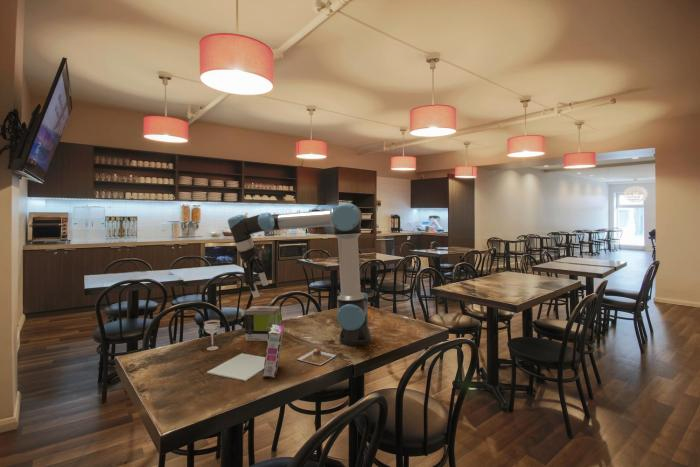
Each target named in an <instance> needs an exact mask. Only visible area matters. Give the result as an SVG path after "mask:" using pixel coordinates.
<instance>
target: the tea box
mask: <svg viewBox="0 0 700 467" xmlns="http://www.w3.org/2000/svg"><path fill="white" fill-rule="evenodd" d="M281 310H282V309H281V306H279V305H276V306H275V305H274V306H271V305H270V306H267V305H266V306H265V305H263V306H261V305H260V306H259V305H258V306H257V305H254V306H253V305H252V306H250V307H249V308H247V309H246V310H244V338H245V342H246V341H247V342H248V341H249V342H252V341H253V342H267V341H268V333H269V331H270V328H271V326H272V325H282V318H281V317H282V316H281V314H282V312H281Z"/></svg>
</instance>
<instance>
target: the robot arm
mask: <svg viewBox="0 0 700 467" xmlns="http://www.w3.org/2000/svg"><path fill="white" fill-rule="evenodd" d="M362 220H363V214H362V211H361V209H360V207H358V206H357V205H355V204H353V203H351V202H342V203H339V204H338V205H336V206H335V207H331V209H328V210H316V211H314V210H313V211H304V212H302V211H301V212H289V213H276V214H271V212H264V213H260V214H256V215H253V216H249V217H245V215H244V214H238V215H234V216H232V217H230V218H228V219H227V224H228V227H229V230H230V233H231V235H232V237H233V238H232V239H233V241H234V243H235V244H234V246H235V247H236V249H237V251H238V255H239V257H240V259H241V260H244V262H243V263H242V268H243V274H244V279H245V282H244V283H245V285H246V286H248V287H249V289H250V292H251V294H252V297H253V299H254V298H259V297H260V295H261V294H260V293H259V290H258V287H257V285H256V282H255V280H254V270H256V271H257V272H258V277H259V280H260V282H261V284H262V287H265V286H268V285H269V281H268V280H267V276H266V274H265V272H267V269H266V267H265V266H264V264H263V262H262V261H261V259H260V257H259V255H258V253H257V250H256V247H255V243H254V241H253V238H252V235H253V234H257V233H261V232H270V231H272V232H273V231H280V230H282V231H283V230H296V229H310V228H322V227H324V228H325V227H333V234H334V237H336V239H337V244H338V246H337V247H338V265H339V280H340V281H339V282H340V283H339V284H340V294H339V295H338V297H337V309H338V310H337V313H336V321H337V323H338V324H339V325H340V327H341V331H340V334H339V343H341V344H342V345H345V346H349V347H362V346H367V345H368V344H369V345H370V344H371V343H372V334H371V330H370V328H369V323H368V322H369V321H368V320H369V317H368V315H369V312H368V310H369V308H368V307H369V306H368V305H369V304H368V301H369V297H368V296H369V295H368V293H366V292H361V273H360V258H359V256H360V255H359V254H360V253H359V237H360V236H361V234H362V226H361V222H362Z"/></svg>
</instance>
